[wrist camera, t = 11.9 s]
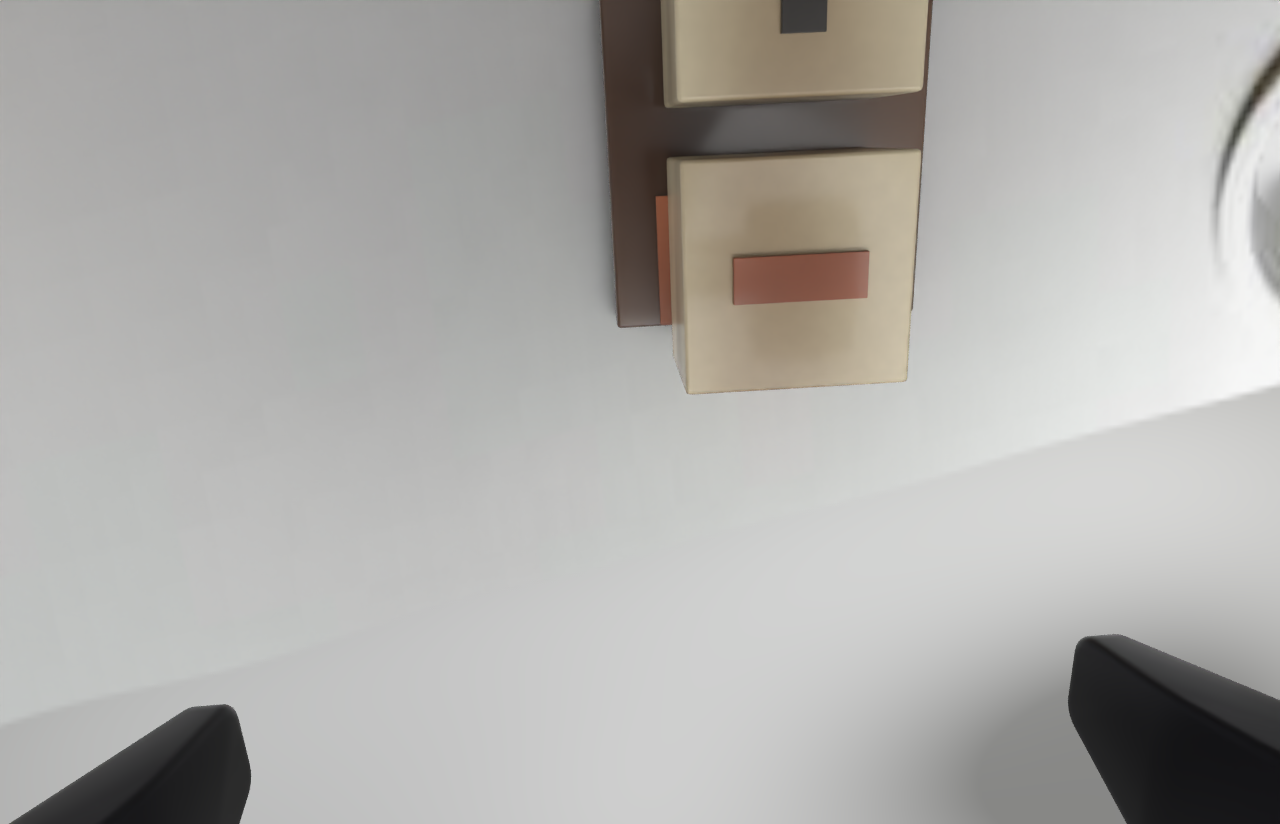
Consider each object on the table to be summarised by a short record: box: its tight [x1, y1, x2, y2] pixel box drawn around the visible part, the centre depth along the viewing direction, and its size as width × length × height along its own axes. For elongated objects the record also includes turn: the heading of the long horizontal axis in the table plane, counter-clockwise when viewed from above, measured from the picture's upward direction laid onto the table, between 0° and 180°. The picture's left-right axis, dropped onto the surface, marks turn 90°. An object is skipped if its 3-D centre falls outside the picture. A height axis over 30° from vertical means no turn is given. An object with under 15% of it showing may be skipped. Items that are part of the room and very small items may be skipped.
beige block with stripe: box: [667, 147, 921, 394], centre depth 17 cm, size 4×4×3 cm
